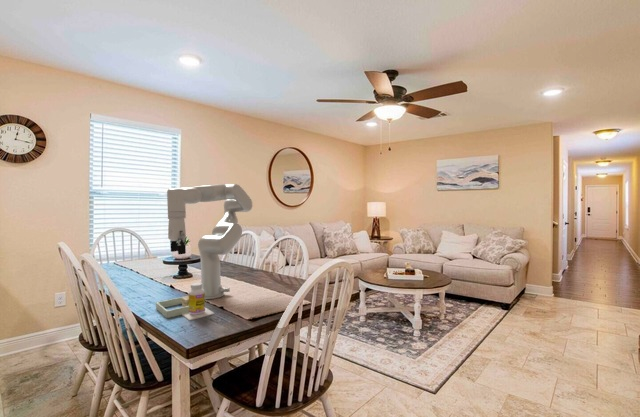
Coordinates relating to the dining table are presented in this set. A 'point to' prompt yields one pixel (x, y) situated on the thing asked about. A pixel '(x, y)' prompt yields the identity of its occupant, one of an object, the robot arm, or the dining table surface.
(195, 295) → the supplement bottle
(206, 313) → the mat
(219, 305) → the dining table surface
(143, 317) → the dining table surface
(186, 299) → the birch block
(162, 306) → the tray
